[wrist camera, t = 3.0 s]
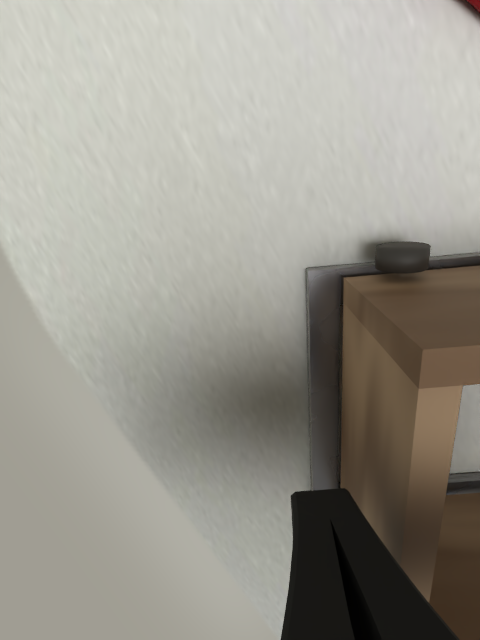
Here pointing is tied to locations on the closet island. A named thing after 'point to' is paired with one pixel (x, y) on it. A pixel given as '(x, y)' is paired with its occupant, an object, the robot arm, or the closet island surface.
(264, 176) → the closet island surface
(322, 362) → the frame
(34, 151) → the closet island surface
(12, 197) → the closet island surface
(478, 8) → the engagement ring
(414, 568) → the cart
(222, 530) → the closet island surface
